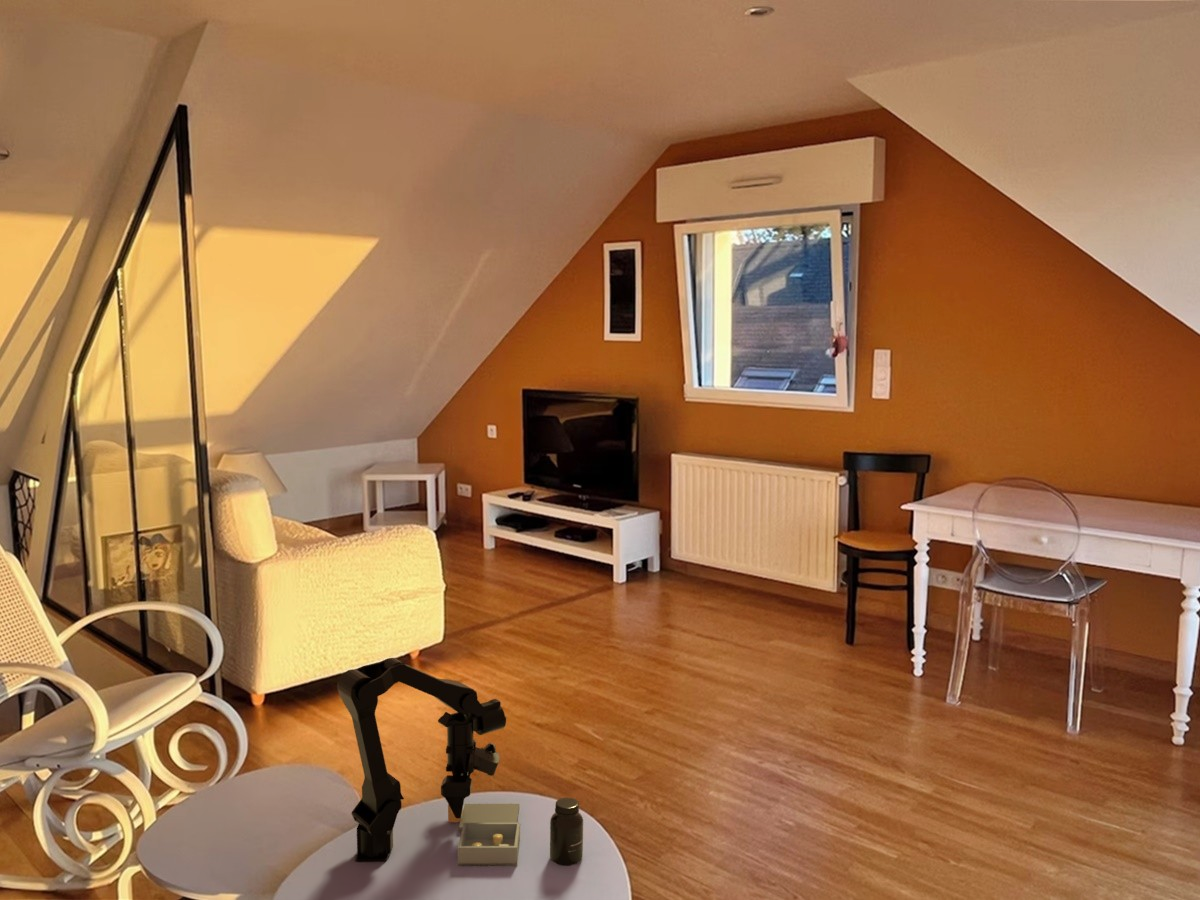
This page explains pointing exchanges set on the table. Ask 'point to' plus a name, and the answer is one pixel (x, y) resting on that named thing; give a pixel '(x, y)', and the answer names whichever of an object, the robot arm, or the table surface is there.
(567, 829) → the supplement bottle
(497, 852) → the tub
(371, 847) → the robot arm
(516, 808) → the lid
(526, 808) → the table surface
